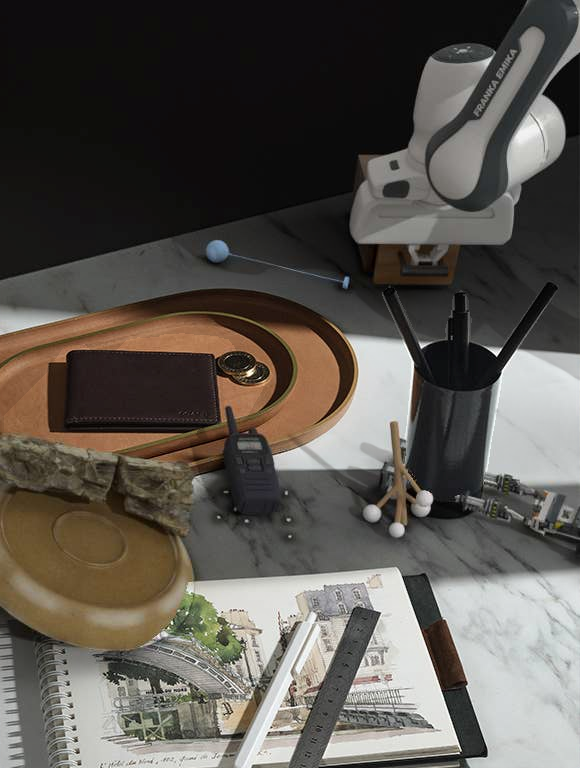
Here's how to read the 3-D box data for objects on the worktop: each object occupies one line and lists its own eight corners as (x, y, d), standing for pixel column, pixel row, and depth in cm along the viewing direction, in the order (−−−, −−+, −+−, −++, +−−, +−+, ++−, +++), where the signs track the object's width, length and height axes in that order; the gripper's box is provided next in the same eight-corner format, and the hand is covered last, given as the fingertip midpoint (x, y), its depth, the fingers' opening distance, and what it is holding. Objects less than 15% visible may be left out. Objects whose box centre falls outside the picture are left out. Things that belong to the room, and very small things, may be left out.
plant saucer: (-10, 622, 113) (-20, 646, 115) (233, 636, 122) (220, 658, 123) (-42, 441, 130) (-49, 465, 132) (173, 465, 139) (163, 487, 141)
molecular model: (344, 298, 172) (345, 285, 169) (203, 264, 176) (202, 251, 174) (350, 280, 173) (351, 267, 170) (210, 246, 178) (209, 233, 175)
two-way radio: (237, 497, 135) (215, 398, 145) (229, 524, 138) (209, 425, 148) (287, 497, 135) (262, 398, 146) (279, 524, 139) (255, 425, 149)
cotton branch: (435, 421, 132) (445, 533, 134) (414, 412, 138) (424, 519, 140) (366, 432, 131) (377, 544, 133) (348, 422, 137) (359, 529, 140)
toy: (401, 423, 142) (683, 498, 130) (396, 470, 146) (669, 547, 135) (376, 466, 137) (668, 548, 125) (372, 513, 141) (654, 597, 129)
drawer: (459, 305, 167) (469, 254, 162) (379, 305, 167) (388, 254, 162) (432, 228, 182) (441, 179, 176) (359, 227, 181) (366, 178, 176)
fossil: (177, 450, 136) (215, 476, 127) (158, 515, 138) (194, 545, 129) (-14, 407, 128) (12, 432, 119) (-33, 477, 129) (-9, 507, 120)
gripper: (518, 162, 159) (496, 256, 168) (355, 160, 159) (342, 255, 168) (530, 187, 154) (507, 283, 164) (362, 186, 154) (348, 281, 163)
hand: (422, 269), depth 166 cm, fingers closed, pressing on drawer
